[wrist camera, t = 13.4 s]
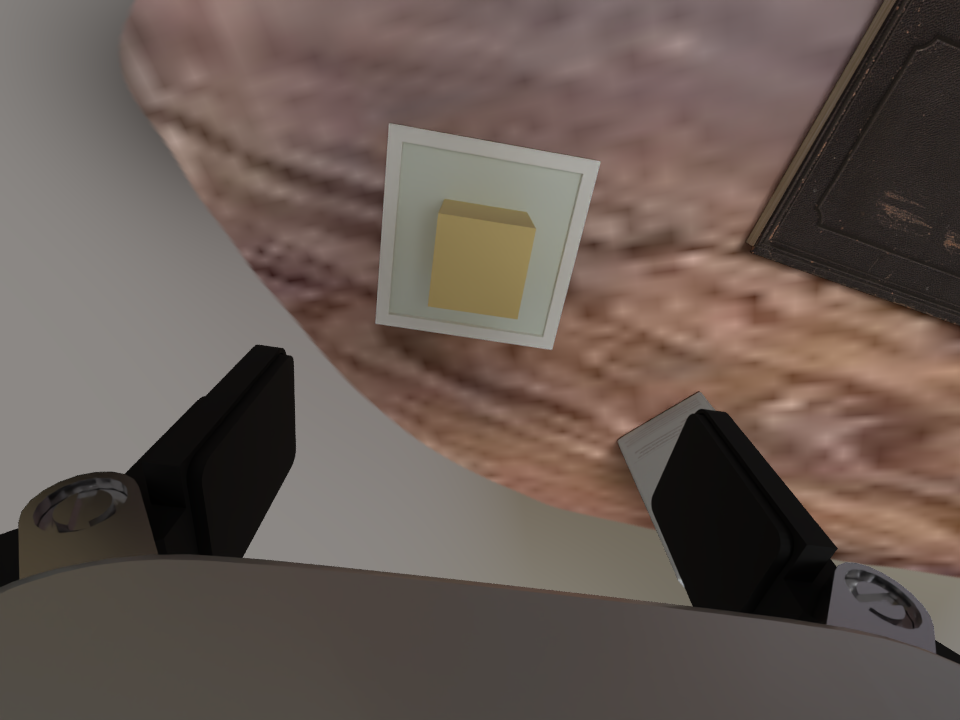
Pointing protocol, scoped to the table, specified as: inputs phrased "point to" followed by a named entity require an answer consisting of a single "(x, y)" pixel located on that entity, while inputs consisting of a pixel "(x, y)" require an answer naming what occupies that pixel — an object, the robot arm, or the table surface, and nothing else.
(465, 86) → the table surface
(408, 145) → the mat
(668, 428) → the supplement box
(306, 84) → the table surface
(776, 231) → the hardcover book
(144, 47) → the table surface
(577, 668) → the robot arm
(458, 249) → the ochre cube
